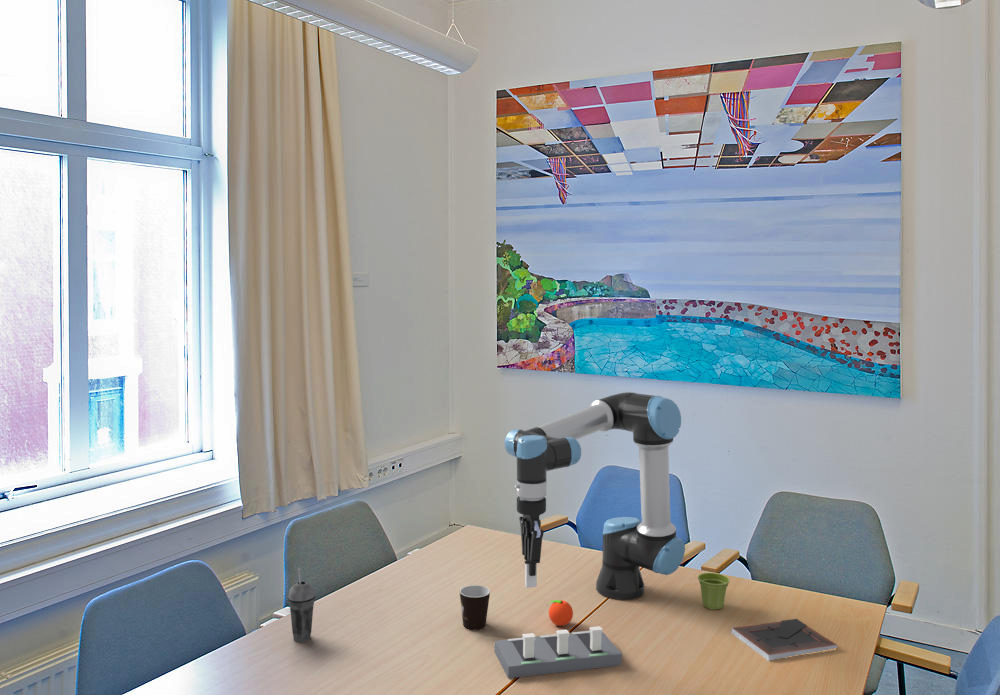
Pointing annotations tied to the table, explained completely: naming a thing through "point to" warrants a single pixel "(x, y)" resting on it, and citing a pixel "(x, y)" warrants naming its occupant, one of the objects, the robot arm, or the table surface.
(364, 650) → the table surface
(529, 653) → the switch
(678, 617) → the table surface
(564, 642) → the switch middle
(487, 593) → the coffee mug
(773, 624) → the brown book
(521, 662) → the switch panel
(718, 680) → the table surface
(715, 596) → the plant pot
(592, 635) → the switch
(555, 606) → the clementine
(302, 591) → the beverage cup
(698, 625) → the table surface
